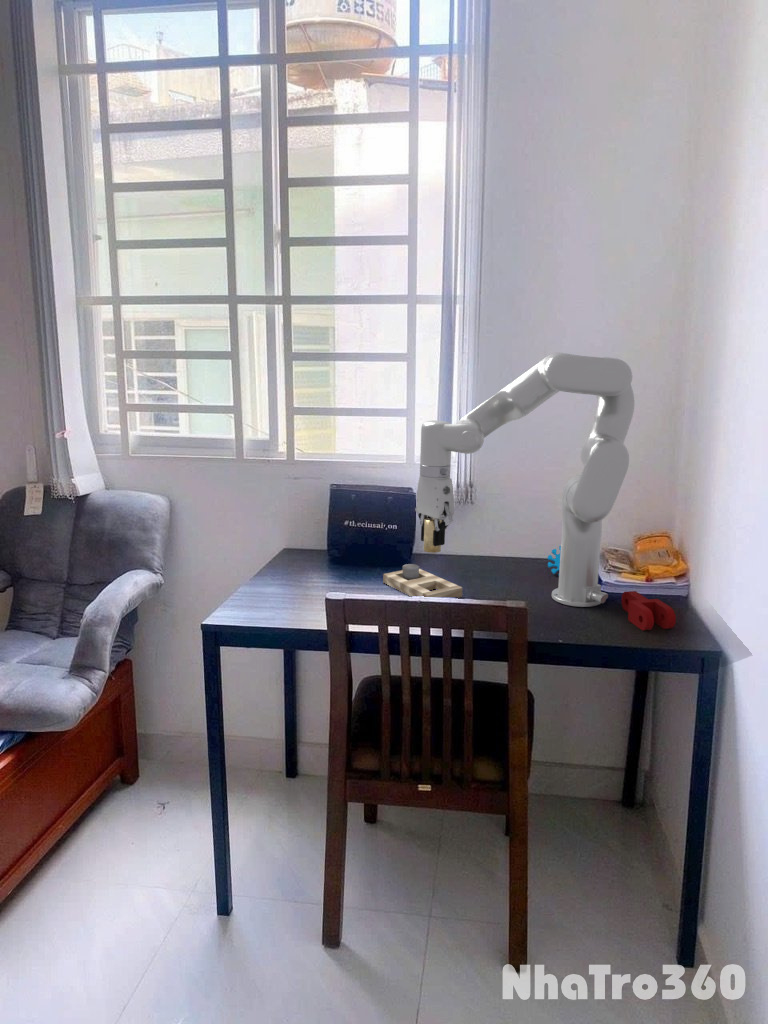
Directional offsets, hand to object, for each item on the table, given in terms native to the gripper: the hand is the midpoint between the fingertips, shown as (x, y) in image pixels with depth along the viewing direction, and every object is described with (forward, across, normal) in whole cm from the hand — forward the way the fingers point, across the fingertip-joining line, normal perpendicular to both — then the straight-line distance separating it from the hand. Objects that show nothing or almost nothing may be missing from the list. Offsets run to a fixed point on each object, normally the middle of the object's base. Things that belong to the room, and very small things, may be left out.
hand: (432, 542), depth 185 cm
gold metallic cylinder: (+2, 0, 0) cm, 2 cm away
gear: (+14, -7, -42) cm, 45 cm away
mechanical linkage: (+14, -40, -32) cm, 53 cm away
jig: (+14, +5, 0) cm, 15 cm away
